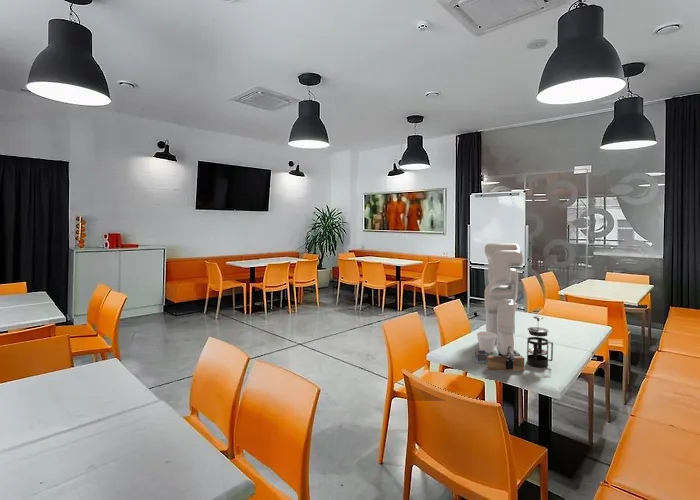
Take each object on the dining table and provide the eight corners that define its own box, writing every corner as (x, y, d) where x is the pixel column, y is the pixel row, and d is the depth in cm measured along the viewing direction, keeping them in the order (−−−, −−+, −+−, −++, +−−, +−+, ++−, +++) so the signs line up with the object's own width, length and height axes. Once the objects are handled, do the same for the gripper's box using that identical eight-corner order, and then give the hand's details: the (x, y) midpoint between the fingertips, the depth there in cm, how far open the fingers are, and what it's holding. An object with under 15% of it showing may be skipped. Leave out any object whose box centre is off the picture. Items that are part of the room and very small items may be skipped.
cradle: (473, 357, 195) (473, 349, 195) (515, 357, 194) (515, 349, 194) (477, 363, 187) (477, 355, 187) (521, 363, 186) (521, 354, 186)
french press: (522, 364, 184) (523, 317, 183) (527, 359, 192) (528, 313, 190) (549, 370, 177) (551, 320, 175) (554, 364, 184) (555, 316, 183)
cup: (496, 349, 207) (496, 332, 206) (497, 355, 197) (497, 337, 197) (476, 347, 210) (476, 330, 209) (476, 353, 201) (476, 336, 200)
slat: (486, 368, 181) (486, 355, 181) (521, 368, 180) (521, 355, 180) (488, 370, 178) (488, 357, 178) (524, 370, 177) (524, 358, 177)
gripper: (491, 324, 187) (491, 358, 188) (504, 334, 169) (503, 372, 171) (507, 324, 186) (506, 358, 187) (521, 334, 169) (521, 372, 170)
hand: (505, 365), depth 179 cm, fingers open, 9 cm apart
